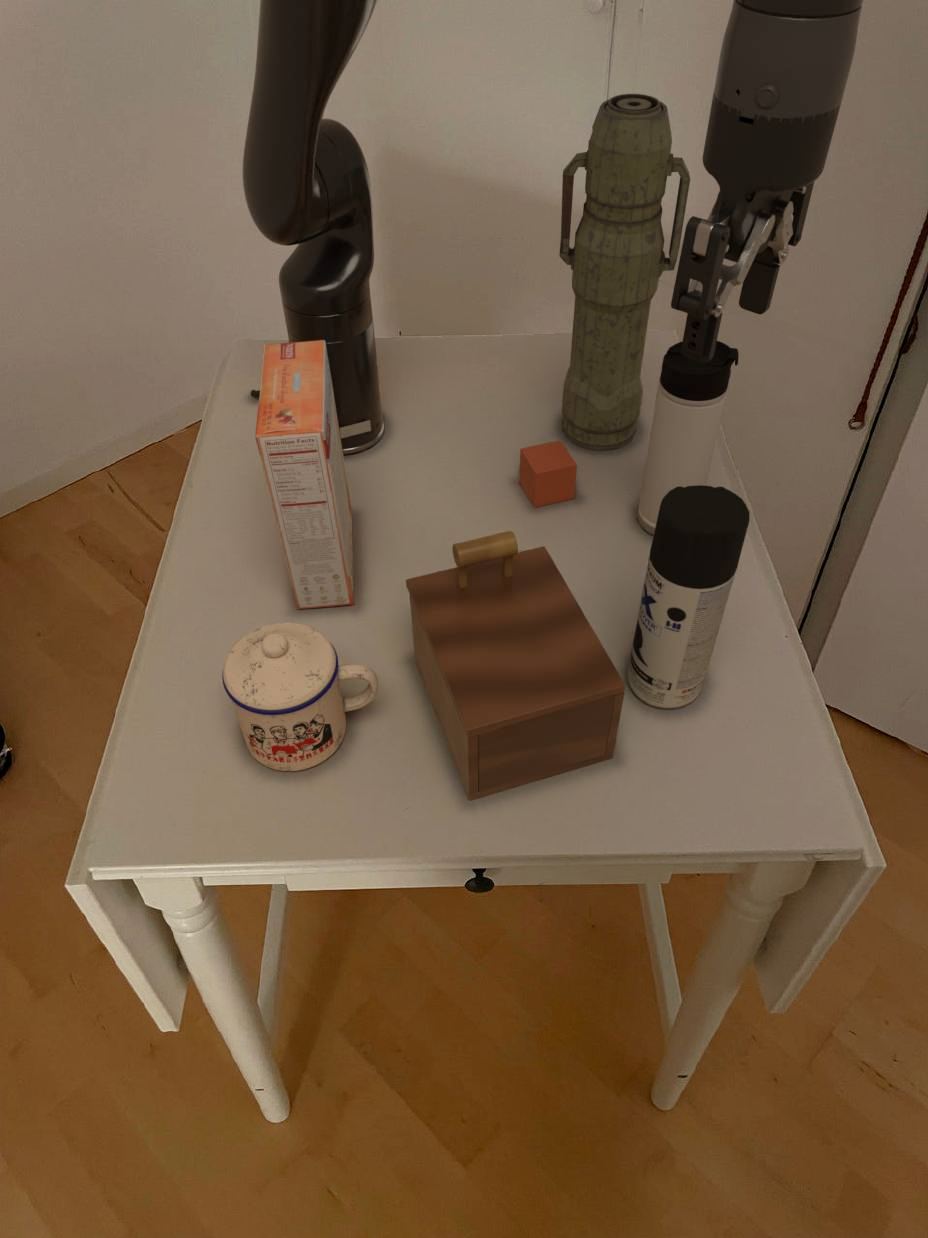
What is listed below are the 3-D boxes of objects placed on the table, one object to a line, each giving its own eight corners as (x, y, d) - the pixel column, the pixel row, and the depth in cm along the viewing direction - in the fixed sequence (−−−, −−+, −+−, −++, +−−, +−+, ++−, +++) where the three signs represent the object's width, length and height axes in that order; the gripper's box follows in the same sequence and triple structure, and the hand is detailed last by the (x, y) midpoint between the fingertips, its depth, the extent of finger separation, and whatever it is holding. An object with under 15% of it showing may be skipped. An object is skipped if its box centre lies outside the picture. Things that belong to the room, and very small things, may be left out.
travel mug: (699, 544, 94) (739, 372, 79) (634, 536, 95) (662, 365, 80) (701, 505, 98) (739, 335, 83) (639, 497, 99) (666, 328, 84)
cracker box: (297, 517, 97) (261, 340, 82) (353, 513, 98) (329, 336, 82) (292, 612, 88) (251, 432, 73) (355, 607, 88) (327, 427, 73)
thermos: (547, 405, 111) (566, 85, 85) (646, 407, 110) (695, 86, 84) (547, 449, 105) (567, 119, 79) (651, 452, 104) (705, 120, 78)
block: (534, 507, 98) (536, 473, 95) (519, 482, 101) (520, 448, 98) (573, 498, 99) (577, 464, 95) (557, 473, 102) (560, 439, 98)
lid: (406, 586, 78) (402, 539, 74) (544, 552, 80) (547, 505, 76) (467, 736, 67) (466, 691, 63) (624, 692, 70) (633, 646, 66)
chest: (415, 661, 84) (409, 593, 77) (543, 627, 86) (548, 559, 80) (469, 801, 73) (467, 737, 67) (612, 758, 76) (624, 692, 70)
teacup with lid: (242, 783, 75) (211, 695, 66) (243, 696, 81) (215, 605, 73) (388, 763, 76) (376, 674, 68) (378, 679, 82) (366, 587, 74)
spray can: (623, 652, 84) (652, 479, 69) (697, 653, 84) (743, 480, 69) (629, 710, 79) (663, 539, 65) (708, 711, 79) (759, 540, 64)
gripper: (775, 47, 60) (726, 280, 72) (662, 109, 53) (628, 357, 65) (885, 69, 57) (815, 310, 69) (782, 139, 50) (723, 395, 62)
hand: (725, 333), depth 67 cm, fingers open, 8 cm apart
